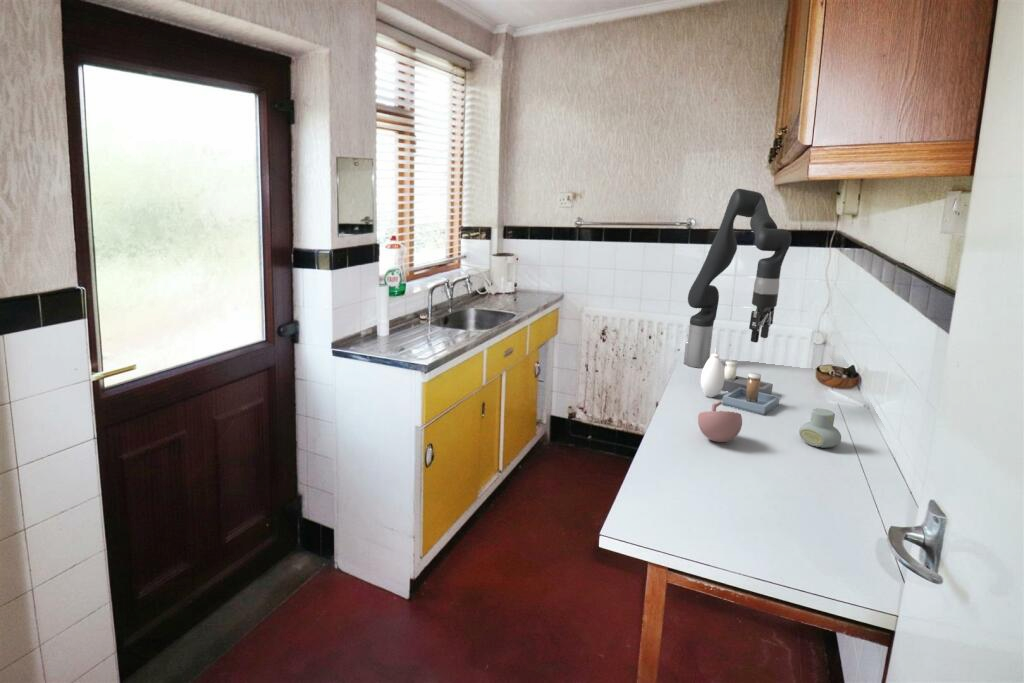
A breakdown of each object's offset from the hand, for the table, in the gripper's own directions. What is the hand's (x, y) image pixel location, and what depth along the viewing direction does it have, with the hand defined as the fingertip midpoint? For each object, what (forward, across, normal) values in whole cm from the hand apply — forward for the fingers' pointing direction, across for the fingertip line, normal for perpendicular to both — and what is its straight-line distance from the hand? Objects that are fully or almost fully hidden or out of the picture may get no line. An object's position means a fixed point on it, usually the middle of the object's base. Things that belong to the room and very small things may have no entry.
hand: (759, 339), depth 204 cm
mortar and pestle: (+23, +38, +5) cm, 45 cm away
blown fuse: (+22, 0, 0) cm, 22 cm away
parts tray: (+23, 0, 0) cm, 23 cm away
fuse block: (+23, -12, -8) cm, 27 cm away
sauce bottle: (+23, +2, -13) cm, 27 cm away
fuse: (+23, -12, -13) cm, 29 cm away
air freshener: (+23, +19, +27) cm, 40 cm away
